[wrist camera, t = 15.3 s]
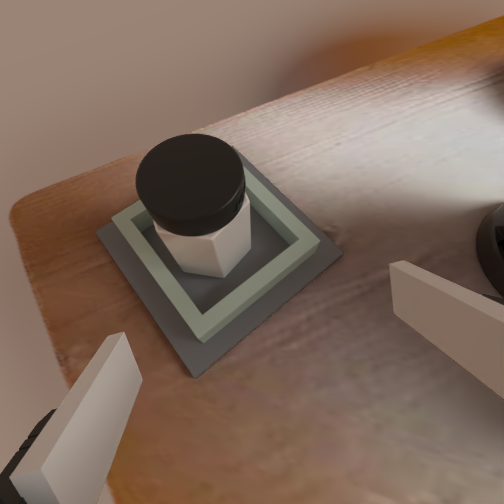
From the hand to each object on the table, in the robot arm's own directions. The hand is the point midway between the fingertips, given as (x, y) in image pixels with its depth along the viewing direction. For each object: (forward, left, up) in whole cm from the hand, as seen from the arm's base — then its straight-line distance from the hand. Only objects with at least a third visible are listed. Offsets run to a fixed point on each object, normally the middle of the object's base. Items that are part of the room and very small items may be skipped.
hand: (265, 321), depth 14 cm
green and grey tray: (-4, -12, -16) cm, 20 cm away
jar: (-3, -12, -15) cm, 20 cm away
